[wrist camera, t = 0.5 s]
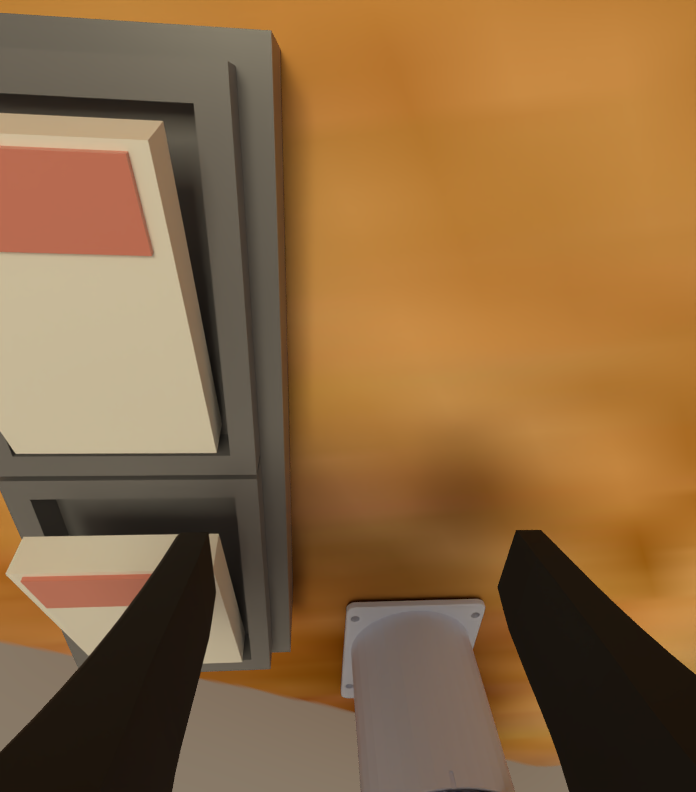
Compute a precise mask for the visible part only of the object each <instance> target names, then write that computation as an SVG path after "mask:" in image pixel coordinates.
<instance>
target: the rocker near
mask: <svg viewBox="0 0 696 792" xmlns="http://www.w3.org/2000/svg"><path fill="white" fill-rule="evenodd" d="M221 427H222V422H221V417H220V412H219V406H218V401H217V396H216V391H215V386H214V381H213V376H212V370H211V365H210V360H209V355H208V350H207V345H206V339H205V334H204V329H203V324H202V319H201V314H200V308H199V303H198V298H197V293H196V288H195V283H194V277H193V272H192V267H191V262H190V257H189V252H188V247H187V241H186V236H185V231H184V226H183V221H182V216H181V210H180V205H179V200H178V195H177V190H176V185H175V179H174V174H173V169H172V164H171V159H170V154H169V149H168V143H167V138H166V133H165V128H164V123H163V121H153V120H133V119H113V118H93V117H73V116H53V115H32V114H12V113H0V432H1V433H2V435H3V436H4V438H5V439H6V440H7V442H8V443H9V445H10V446H11V448H12V449H13V450H14V452H15V453H16V454H88V453H217V449H218V443H219V438H220V433H221Z"/></svg>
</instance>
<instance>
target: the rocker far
mask: <svg viewBox="0 0 696 792" xmlns="http://www.w3.org/2000/svg"><path fill="white" fill-rule="evenodd" d="M177 535H179V534H166V535H106V536H46V537H23V538H22V541H21V543H20V545H19V547H18V549H17V551H16V553H15V555H14V557H13V559H12V561H11V564H10V566H9V568H8V570H7V572H6V575H7V576H8V577H9V578H10V579H11V580H12V581H13V582H14V583H15V584H16V585H17V586H18V587H19V588H20V589H21V590H22V591H23V592H24V593H25V594H26V595H27V596H28V597H29V598H30V599H31V600H32V601H33V602H34V603H35V604H36V605H37V606H38V607H39V608H40V609H41V610H42V611H43V612H44V613H45V614H46V615H47V616H48V617H49V618H51V619H52V620H53V621H54V622H55V623H56V624H57V625H58V626H59V627H60V628H61V629H62V630H63V631H64V632H65V633H66V634H67V635H68V636H69V637H70V638H71V639H72V640H73V641H74V642H75V643H76V644H77V645H78V646H79V647H80V648H81V649H82V650H83V651H84V652H85V653H86V654H87V655H88V656H89V655H90V654H91V653H92V652H93V650H94V649H95V648H96V647H97V646H98V644H99V643H100V642H101V641H102V639H103V638H104V637H105V636H106V635H107V633H108V632H109V631H110V630H111V628H112V627H113V626H114V625H115V623H116V622H117V621H118V619H119V618H120V617H121V615H122V614H123V613H124V611H125V610H126V609H127V607H128V606H129V605H130V603H131V602H132V601H133V599H134V598H135V597H136V595H137V594H138V593H139V591H140V590H141V589H142V587H143V586H144V584H145V583H146V582H147V580H148V579H149V577H150V576H151V574H152V573H153V572H154V570H155V569H156V567H157V566H158V564H159V563H160V561H161V560H162V558H163V557H164V555H165V554H166V552H167V551H168V549H169V547H170V546H171V544H172V543H173V541H174V539H175V538H176V536H177ZM209 539H210V547H211V555H212V563H213V570H214V578H215V586H216V597H215V604H214V611H213V617H212V624H211V630H210V636H209V641H208V645H207V649H206V653H205V657H204V661H203V664H207V663H234V662H242V660H243V650H244V640H245V631H244V627H243V623H242V619H241V616H240V612H239V608H238V604H237V601H236V597H235V593H234V589H233V586H232V582H231V578H230V574H229V571H228V567H227V563H226V559H225V555H224V552H223V548H222V544H221V540H220V537H219V534H209Z"/></svg>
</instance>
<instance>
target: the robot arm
mask: <svg viewBox="0 0 696 792" xmlns="http://www.w3.org/2000/svg"><path fill="white" fill-rule="evenodd" d="M498 591H499V595H500V599H501V603H502V607H503V610H504V614H505V618H506V621H507V625H508V628H509V631H510V634H511V637H512V639H513V642H514V644H515V647H516V649H517V652H518V654H519V657H520V660H521V662H522V665H523V667H524V670H525V672H526V675H527V677H528V680H529V682H530V685H531V687H532V690H533V692H534V694H535V697H536V699H537V702H538V704H539V707H540V709H541V712H542V714H543V717H544V719H545V722H546V724H547V727H548V729H549V732H550V735H551V737H552V740H553V743H554V746H555V748H556V751H557V754H558V757H559V760H560V763H561V766H562V770H563V773H564V776H565V779H566V783H567V786H568V789H569V792H696V674H694V673H693V672H692V671H691V670H689V669H688V668H687V667H686V666H685V665H683V664H682V663H681V662H680V661H679V660H677V659H676V658H675V657H674V656H673V655H671V654H670V653H669V652H668V651H667V650H666V649H664V648H663V647H662V646H661V645H660V644H659V643H658V642H657V641H655V640H654V639H653V638H652V637H651V636H650V635H649V634H647V633H646V632H645V631H644V630H643V629H642V628H641V627H640V626H638V625H637V624H636V623H635V622H634V621H633V620H632V619H631V618H630V617H629V616H628V615H627V614H625V613H624V612H623V611H622V610H621V609H620V608H619V607H618V606H617V605H616V604H615V603H614V602H613V601H612V600H611V599H610V598H609V597H608V596H607V595H606V594H604V593H603V592H602V591H601V590H600V589H599V588H598V587H597V586H596V585H595V584H594V583H593V582H592V581H591V580H590V579H589V578H588V577H587V576H586V575H585V574H584V573H583V572H582V571H581V570H580V569H579V568H578V567H577V566H576V565H575V564H574V563H573V562H572V561H571V560H570V559H569V558H568V557H567V556H566V555H565V554H564V553H563V552H562V551H561V550H560V549H559V548H558V547H557V546H556V545H555V544H554V543H553V542H552V541H551V540H550V539H549V538H548V537H547V536H546V535H545V534H544V533H543V532H542V531H541V530H516V532H515V535H514V538H513V541H512V544H511V547H510V550H509V554H508V557H507V560H506V563H505V566H504V569H503V572H502V575H501V578H500V581H499V584H498ZM215 597H216V586H215V578H214V570H213V563H212V555H211V547H210V539H209V532H181V533H180V534H179V535H177V536H176V538H175V539H174V541H173V543H172V544H171V546H170V547H169V549H168V551H167V552H166V554H165V555H164V557H163V558H162V560H161V561H160V563H159V564H158V566H157V567H156V569H155V570H154V572H153V573H152V574H151V576H150V577H149V579H148V580H147V582H146V583H145V584H144V586H143V587H142V589H141V590H140V591H139V593H138V594H137V595H136V597H135V598H134V599H133V601H132V602H131V603H130V605H129V606H128V607H127V609H126V610H125V611H124V613H123V614H122V615H121V617H120V618H119V619H118V621H117V622H116V623H115V625H114V626H113V627H112V628H111V630H110V631H109V632H108V633H107V635H106V636H105V637H104V638H103V639H102V641H101V642H100V643H99V644H98V646H97V647H96V648H95V649H94V650H93V652H92V653H91V654H90V655H89V657H88V658H87V659H86V660H85V661H84V663H83V664H82V665H81V666H80V667H79V668H78V670H77V671H76V672H75V673H74V674H73V675H72V677H71V678H70V679H69V680H68V681H67V682H66V684H65V685H64V686H63V687H62V688H61V689H60V690H59V691H58V692H57V693H56V694H55V695H54V697H53V698H52V699H51V700H50V701H49V702H48V703H47V704H46V705H45V706H44V707H43V709H42V710H41V711H40V712H39V713H38V714H37V715H36V716H35V717H34V718H33V719H32V720H31V721H30V722H29V723H28V725H26V726H25V727H24V728H23V729H22V730H21V731H20V732H19V733H18V734H17V736H16V737H15V738H14V739H12V740H11V742H10V743H9V744H8V745H7V746H6V747H5V748H4V749H3V750H2V751H1V752H0V792H172V788H173V782H174V777H175V772H176V767H177V763H178V759H179V754H180V750H181V746H182V742H183V738H184V734H185V730H186V726H187V723H188V718H189V715H190V711H191V707H192V703H193V699H194V696H195V692H196V688H197V684H198V680H199V676H200V672H201V669H202V665H203V661H204V657H205V653H206V649H207V645H208V641H209V636H210V630H211V624H212V617H213V611H214V604H215ZM484 611H485V605H484V602H483V601H482V600H480V599H450V600H415V601H379V602H353V603H350V604H349V605H348V606H347V608H346V621H345V635H344V650H343V665H342V680H341V695H342V696H343V697H344V698H354V702H355V717H356V731H357V745H358V758H359V773H360V788H361V792H515V790H514V786H513V783H512V780H511V776H510V773H509V770H508V767H507V763H506V760H505V756H504V753H503V750H502V746H501V743H500V739H499V736H498V733H497V729H496V726H495V723H494V719H493V716H492V713H491V709H490V706H489V703H488V699H487V696H486V693H485V689H484V686H483V683H482V679H481V676H480V672H479V669H478V666H477V662H476V659H475V656H474V652H473V647H474V644H475V640H476V637H477V634H478V631H479V627H480V624H481V621H482V618H483V614H484Z"/></svg>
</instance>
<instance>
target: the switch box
mask: <svg viewBox="0 0 696 792" xmlns="http://www.w3.org/2000/svg"><path fill="white" fill-rule="evenodd" d="M0 113H12V114H32V115H53V116H73V117H93V118H113V119H133V120H153V121H163V123H164V128H165V133H166V138H167V143H168V149H169V154H170V159H171V164H172V169H173V174H174V179H175V185H176V190H177V195H178V200H179V205H180V210H181V216H182V221H183V226H184V231H185V236H186V241H187V247H188V252H189V257H190V262H191V267H192V272H193V277H194V283H195V288H196V293H197V298H198V303H199V308H200V314H201V319H202V324H203V329H204V334H205V339H206V345H207V350H208V355H209V360H210V365H211V370H212V376H213V381H214V386H215V391H216V396H217V401H218V406H219V412H220V417H221V422H222V427H221V433H220V438H219V443H218V449H217V453H88V454H16V453H15V452H14V450H13V449H12V448H11V446H10V445H9V443H8V442H7V440H6V439H5V438H4V436H3V435H2V433H1V432H0V491H1V493H2V495H3V498H4V500H5V502H6V505H7V507H8V509H9V511H10V514H11V516H12V518H13V521H14V523H15V525H16V527H17V530H18V532H19V534H20V536H21V539H22V538H23V537H46V536H106V535H166V534H180V533H181V532H209V534H219V537H220V540H221V544H222V548H223V552H224V555H225V559H226V563H227V567H228V571H229V574H230V578H231V582H232V586H233V589H234V593H235V597H236V601H237V604H238V608H239V612H240V616H241V619H242V623H243V627H244V631H245V640H244V650H243V660H242V662H234V663H207V664H203V665H202V669H201V672H207V671H232V670H258V669H270V667H271V654H272V652H290V649H291V625H292V602H293V568H292V525H291V482H290V439H289V396H288V353H287V310H286V267H285V224H284V181H283V138H282V95H281V52H280V47H279V45H278V43H277V41H276V39H275V37H274V35H273V33H272V31H270V30H254V29H239V28H224V27H208V26H193V25H178V24H162V23H147V22H132V21H116V20H101V19H85V18H70V17H55V16H39V15H24V14H9V13H0ZM61 630H62V629H61ZM62 632H63V635H64V637H65V639H66V641H67V644H68V646H69V648H70V651H71V653H72V655H73V657H74V660H75V662H76V664H77V666H78V668H79V667H80V666H81V665H82V664H83V663H84V661H85V660H86V659H87V658H88V657H89V656H88V655H87V654H86V653H85V652H84V651H83V650H82V649H81V648H80V647H79V646H78V645H77V644H76V643H75V642H74V641H73V640H72V639H71V638H70V637H69V636H68V635H67V634H66V633H65V632H64V631H63V630H62Z"/></svg>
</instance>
